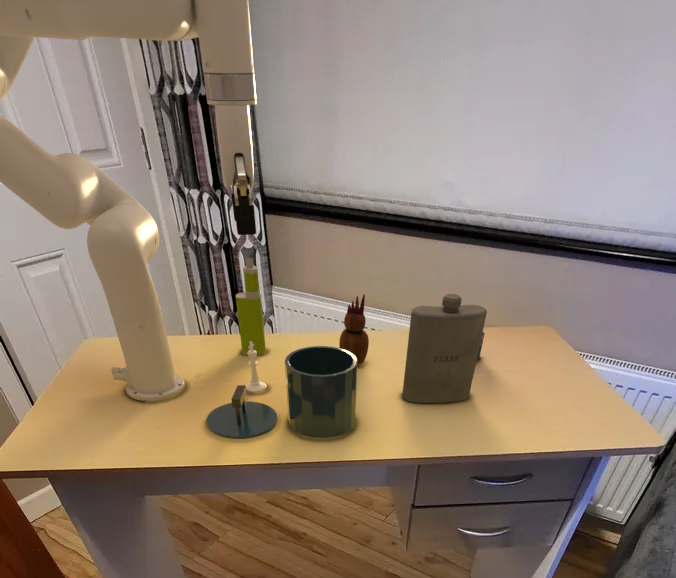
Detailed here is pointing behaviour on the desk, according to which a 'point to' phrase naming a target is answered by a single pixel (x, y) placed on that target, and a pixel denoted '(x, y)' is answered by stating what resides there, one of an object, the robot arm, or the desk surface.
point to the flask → (442, 351)
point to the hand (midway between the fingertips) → (245, 227)
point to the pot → (321, 391)
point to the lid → (241, 417)
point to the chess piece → (254, 372)
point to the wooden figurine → (355, 332)
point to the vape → (251, 311)
